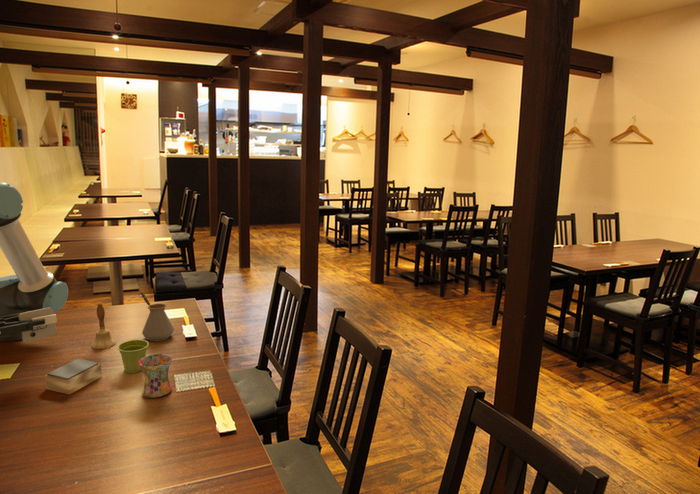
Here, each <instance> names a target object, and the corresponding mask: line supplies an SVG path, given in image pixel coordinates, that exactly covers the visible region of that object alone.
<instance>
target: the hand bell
mask: <svg viewBox="0 0 700 494" xmlns="http://www.w3.org/2000/svg"><path fill="white" fill-rule="evenodd" d="M105 314H106V313H105V308H104V305H103V304H102V303H98V304H97V308H96V316H97V319H98V323H99V329H98V330H97V331H95V338H94V341H93V342H91V348H92V349H96V350H102V349H109V348H111V347H113V346H115V345H116V344H117V341H116V339H113V337H112V336H111V332H110V329H108V328H106V326H105V325H106V324H105Z"/></svg>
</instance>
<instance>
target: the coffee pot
mask: <svg viewBox="0 0 700 494" xmlns="http://www.w3.org/2000/svg"><path fill="white" fill-rule="evenodd" d="M138 295H140V296H141V298H143V300H144V302H145V303H146V304H147V305H148V307H147V309H148V310H149V314H148V316H147V319H146V322H145V324H144V327H143V330H142V331H141V332H142V335H143V337H145V338H146V339H148V340H149V341H151V342H162V341H165V340H167V339H169V338H170V336H172V335H173V333H174V331H175V328H174V326H173V324H172V322H171V320H170V319H169V317H168V315H167V313H166V311H165V308H166V307H167V304H164V303H154V304H151V302H150V300H149V299H148V297H146V295H145V293H144V292H140V293H138Z"/></svg>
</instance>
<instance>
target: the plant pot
mask: <svg viewBox="0 0 700 494" xmlns="http://www.w3.org/2000/svg"><path fill="white" fill-rule="evenodd" d="M149 345H150V343H149V341H147V340H144V339H132V340H131V339H130V340H127V341H124V342H121V343H119V344H118V345H117V350H118V351H119V353H120V356H121V360H122V364H123V369H124V372H126V373H127V374H136V373H139V372H140V371H141V372H143V371H142V369H141V367H140V366H139V361H140V360H141V359H142V358H144V357H146V356H147V350H148V347H149Z"/></svg>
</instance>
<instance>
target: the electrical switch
mask: <svg viewBox="0 0 700 494" xmlns="http://www.w3.org/2000/svg"><path fill="white" fill-rule="evenodd" d="M53 314H54V312H53V309H52V308H51V307H48V308H44V309H39V310H34V311H29V312H24V313H20V314H19V315H18V317H19V320H20V321H24V320H32V318H36V317H42V316H47V315H53ZM31 333H33V336H31ZM56 335H57V327H56V323H52V324H47V325H42V326H36V327H33V330H32V331H31V330H30V331H24V332H22V339H21V340H22V342H23V343H30V342H33V341H38V340H41V339H46V338H49V337H53V336H56Z"/></svg>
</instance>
